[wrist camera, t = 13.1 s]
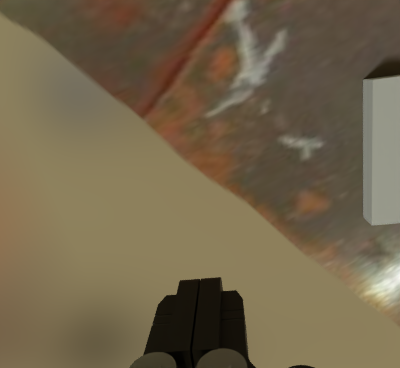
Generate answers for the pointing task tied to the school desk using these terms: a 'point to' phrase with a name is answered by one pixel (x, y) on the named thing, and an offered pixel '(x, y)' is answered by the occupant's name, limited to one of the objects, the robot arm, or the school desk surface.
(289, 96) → the school desk surface
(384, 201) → the far plate
